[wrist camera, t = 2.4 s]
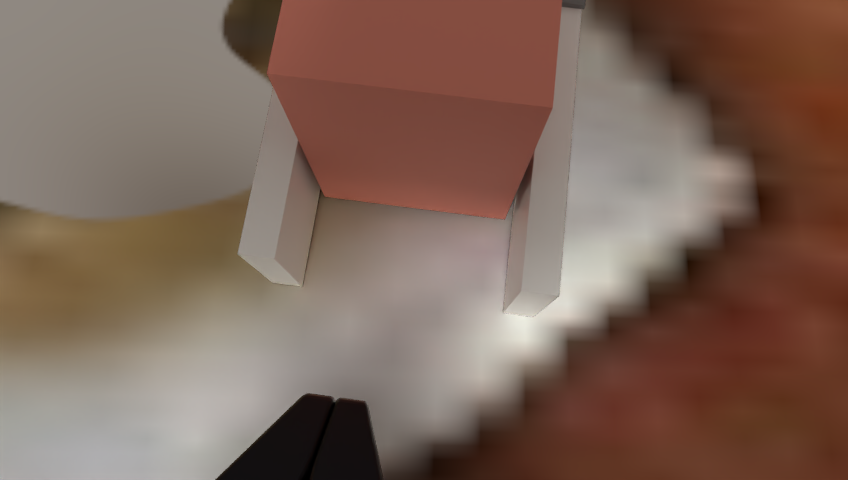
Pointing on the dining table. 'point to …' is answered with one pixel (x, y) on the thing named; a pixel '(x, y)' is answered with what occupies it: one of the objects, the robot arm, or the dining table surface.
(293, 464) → the robot arm
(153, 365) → the dining table surface
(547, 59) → the plug
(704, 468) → the dining table surface
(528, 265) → the plug guide
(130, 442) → the dining table surface
